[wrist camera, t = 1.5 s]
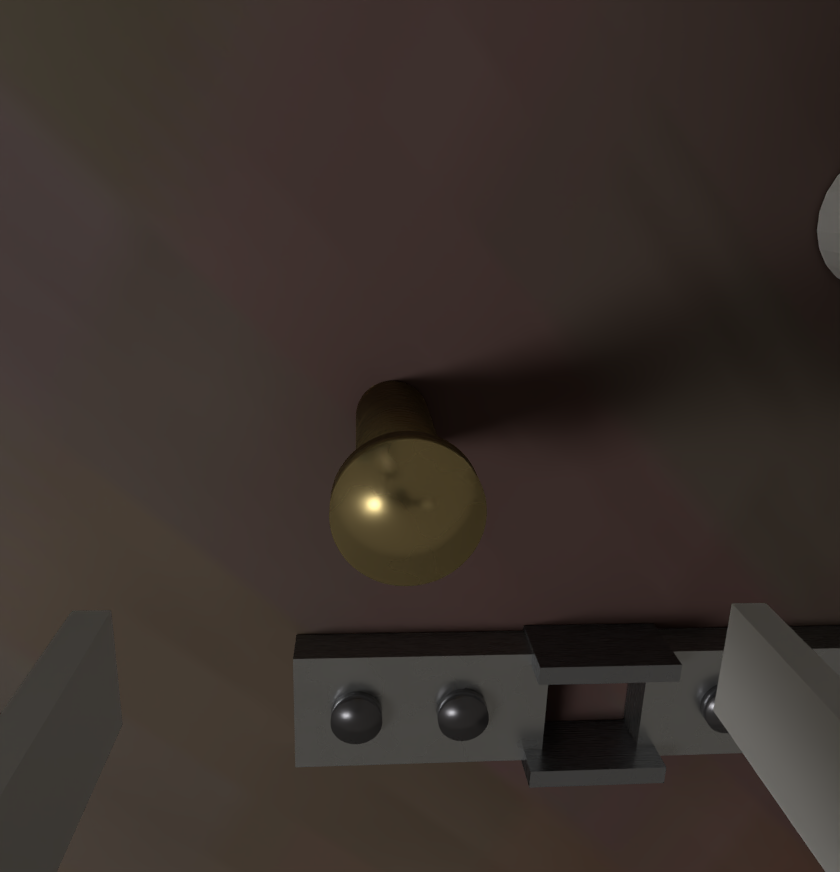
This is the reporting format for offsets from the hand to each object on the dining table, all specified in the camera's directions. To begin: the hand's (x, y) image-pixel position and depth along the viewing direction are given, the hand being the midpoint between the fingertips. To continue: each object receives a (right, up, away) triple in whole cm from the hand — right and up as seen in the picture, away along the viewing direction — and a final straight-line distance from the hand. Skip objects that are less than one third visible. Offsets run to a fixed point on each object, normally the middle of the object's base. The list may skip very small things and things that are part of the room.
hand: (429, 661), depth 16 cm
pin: (-1, +6, +17) cm, 18 cm away
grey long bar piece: (+8, -8, +22) cm, 25 cm away
